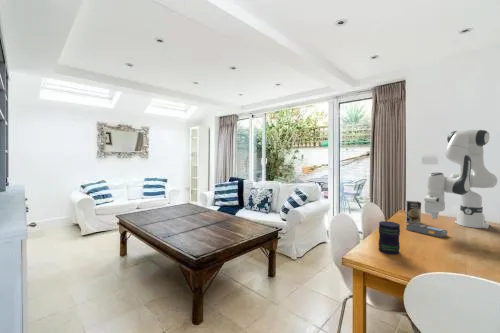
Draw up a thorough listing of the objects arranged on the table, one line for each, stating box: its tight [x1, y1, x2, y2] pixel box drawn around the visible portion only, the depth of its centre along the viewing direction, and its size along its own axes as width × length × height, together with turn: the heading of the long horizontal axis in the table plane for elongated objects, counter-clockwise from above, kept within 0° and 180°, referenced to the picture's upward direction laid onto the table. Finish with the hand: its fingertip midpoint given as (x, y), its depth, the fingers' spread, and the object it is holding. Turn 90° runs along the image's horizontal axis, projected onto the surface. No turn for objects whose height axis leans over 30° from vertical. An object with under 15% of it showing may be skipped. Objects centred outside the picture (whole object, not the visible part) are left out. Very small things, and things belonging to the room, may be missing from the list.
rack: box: [405, 223, 448, 239], centre depth 162 cm, size 8×20×4 cm, turn 32°
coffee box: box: [404, 200, 422, 224], centre depth 187 cm, size 9×6×16 cm
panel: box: [426, 226, 444, 232], centre depth 158 cm, size 5×8×3 cm, turn 32°
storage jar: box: [378, 220, 401, 256], centre depth 130 cm, size 10×10×15 cm
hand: (434, 218), depth 157 cm, fingers closed
